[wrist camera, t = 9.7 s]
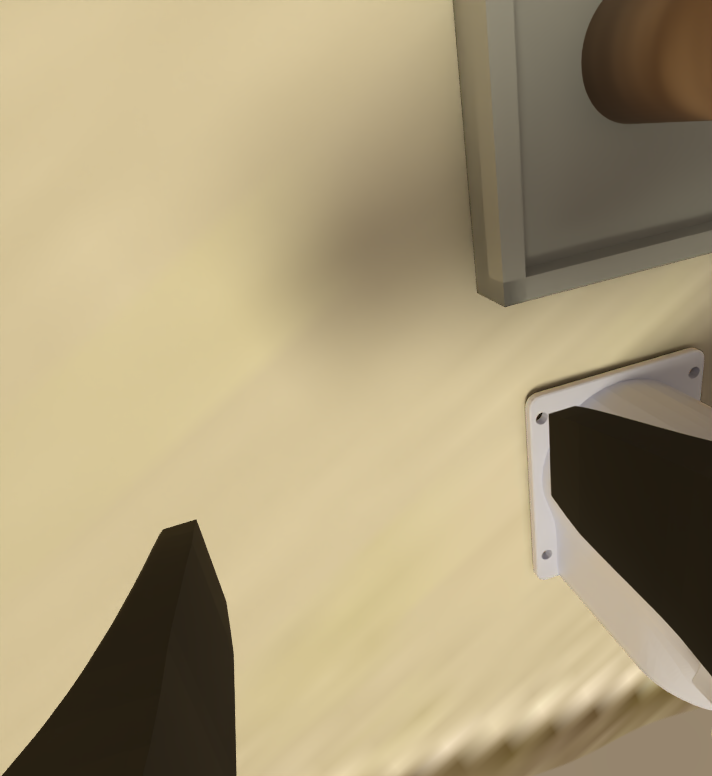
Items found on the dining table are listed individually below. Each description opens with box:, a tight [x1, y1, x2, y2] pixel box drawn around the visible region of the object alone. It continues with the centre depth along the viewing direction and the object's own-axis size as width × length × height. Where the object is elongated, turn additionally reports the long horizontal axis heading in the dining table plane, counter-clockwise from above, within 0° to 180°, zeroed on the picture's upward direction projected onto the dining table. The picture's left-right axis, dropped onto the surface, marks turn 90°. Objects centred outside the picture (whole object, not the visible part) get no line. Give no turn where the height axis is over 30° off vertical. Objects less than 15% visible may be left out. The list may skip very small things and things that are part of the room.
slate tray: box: [453, 0, 712, 307], centre depth 18 cm, size 13×11×2 cm
